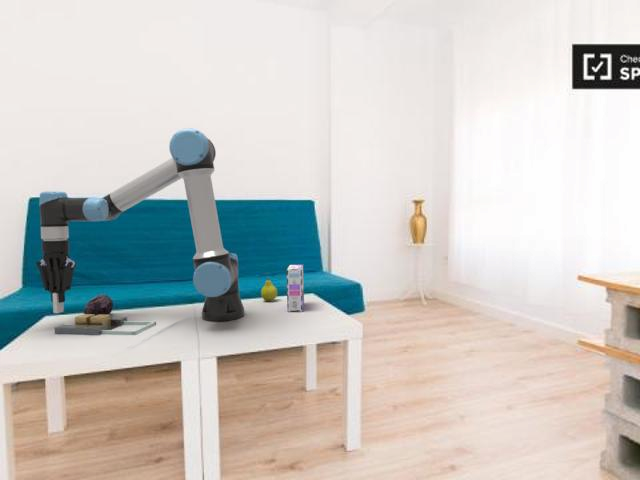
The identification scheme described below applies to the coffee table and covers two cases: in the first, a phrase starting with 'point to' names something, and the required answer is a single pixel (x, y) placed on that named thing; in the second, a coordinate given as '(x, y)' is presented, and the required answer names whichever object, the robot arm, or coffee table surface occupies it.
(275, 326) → the coffee table surface
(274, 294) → the fruit
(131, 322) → the tray
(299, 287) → the candy box
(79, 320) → the brass block
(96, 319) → the brass block
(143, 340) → the coffee table surface
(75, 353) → the coffee table surface
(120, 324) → the rail
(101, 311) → the rock
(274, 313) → the coffee table surface
